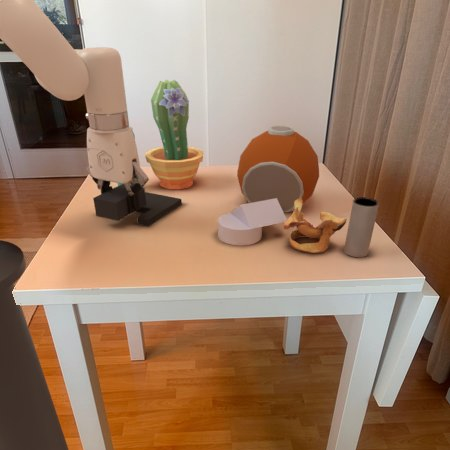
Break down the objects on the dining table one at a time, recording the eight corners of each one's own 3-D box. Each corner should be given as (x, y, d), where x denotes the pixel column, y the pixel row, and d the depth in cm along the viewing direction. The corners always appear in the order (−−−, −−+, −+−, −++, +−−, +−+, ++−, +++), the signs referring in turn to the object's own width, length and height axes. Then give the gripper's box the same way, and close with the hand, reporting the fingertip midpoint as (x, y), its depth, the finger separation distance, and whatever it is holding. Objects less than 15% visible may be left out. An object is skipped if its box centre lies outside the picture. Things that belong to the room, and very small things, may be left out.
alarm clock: (318, 194, 107) (328, 122, 98) (311, 221, 93) (321, 140, 84) (245, 187, 112) (248, 117, 102) (228, 211, 98) (229, 134, 88)
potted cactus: (138, 190, 109) (126, 83, 95) (159, 172, 121) (151, 75, 107) (195, 196, 106) (191, 86, 92) (211, 176, 119) (209, 77, 104)
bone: (286, 258, 80) (290, 216, 75) (274, 235, 87) (277, 197, 83) (347, 254, 81) (355, 213, 76) (329, 232, 89) (335, 194, 84)
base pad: (97, 214, 96) (96, 208, 95) (134, 195, 106) (133, 189, 106) (148, 226, 91) (147, 219, 90) (181, 204, 101) (181, 198, 100)
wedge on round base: (263, 220, 94) (211, 231, 89) (265, 191, 90) (210, 201, 85) (286, 236, 87) (230, 249, 82) (288, 205, 83) (230, 217, 79)
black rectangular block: (96, 215, 90) (92, 198, 88) (125, 200, 97) (122, 183, 95) (118, 221, 88) (115, 202, 85) (146, 204, 95) (144, 187, 93)
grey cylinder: (371, 257, 80) (383, 205, 74) (348, 258, 80) (358, 206, 74) (362, 246, 84) (373, 196, 78) (340, 247, 83) (349, 197, 77)
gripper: (61, 120, 82) (79, 207, 93) (133, 129, 76) (144, 222, 86) (87, 113, 88) (101, 196, 98) (156, 121, 82) (164, 209, 92)
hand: (121, 207), depth 92 cm, fingers closed on black rectangular block, 6 cm apart
